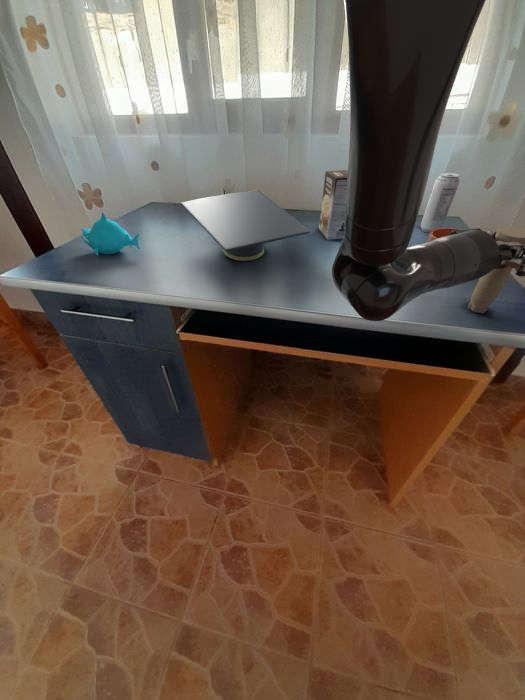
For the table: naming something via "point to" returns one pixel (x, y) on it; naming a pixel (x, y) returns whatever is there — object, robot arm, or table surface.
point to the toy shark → (107, 237)
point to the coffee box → (334, 204)
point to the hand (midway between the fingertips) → (522, 241)
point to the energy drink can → (440, 201)
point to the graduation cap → (243, 222)
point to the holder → (440, 233)
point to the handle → (495, 273)
